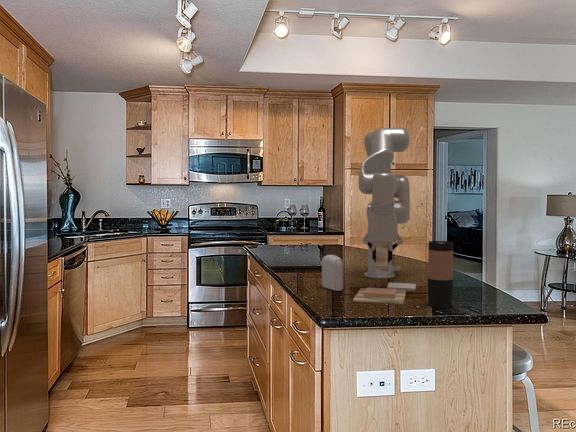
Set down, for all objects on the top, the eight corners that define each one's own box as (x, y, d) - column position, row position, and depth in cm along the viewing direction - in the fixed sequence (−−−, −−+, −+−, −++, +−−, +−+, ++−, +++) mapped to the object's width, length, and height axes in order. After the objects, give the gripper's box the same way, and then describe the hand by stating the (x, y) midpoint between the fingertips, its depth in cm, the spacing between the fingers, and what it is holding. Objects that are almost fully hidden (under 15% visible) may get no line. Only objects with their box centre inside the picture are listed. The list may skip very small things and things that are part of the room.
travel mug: (423, 303, 171) (424, 240, 170) (446, 302, 172) (448, 240, 171) (432, 308, 163) (433, 243, 162) (456, 308, 164) (457, 243, 163)
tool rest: (388, 284, 204) (388, 282, 204) (415, 285, 202) (415, 283, 202) (386, 289, 194) (386, 287, 194) (415, 290, 192) (415, 288, 192)
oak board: (360, 290, 193) (360, 288, 193) (406, 292, 189) (406, 290, 189) (352, 301, 174) (352, 299, 174) (403, 304, 170) (403, 302, 169)
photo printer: (320, 286, 199) (320, 253, 199) (330, 285, 201) (330, 253, 200) (334, 291, 190) (334, 256, 189) (344, 290, 192) (345, 256, 191)
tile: (367, 287, 186) (363, 292, 177) (396, 288, 184) (394, 294, 174) (367, 291, 186) (363, 297, 177) (396, 293, 184) (394, 299, 174)
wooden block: (376, 272, 188) (377, 227, 187) (388, 273, 187) (389, 227, 186) (375, 274, 184) (376, 228, 183) (387, 275, 183) (388, 228, 182)
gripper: (357, 209, 183) (356, 262, 184) (407, 209, 179) (406, 264, 179) (360, 208, 190) (359, 259, 191) (408, 209, 186) (407, 261, 187)
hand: (382, 261), depth 185 cm, fingers closed on wooden block, 4 cm apart
